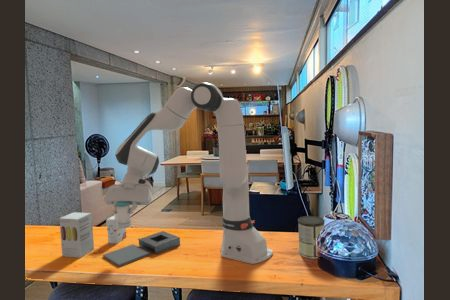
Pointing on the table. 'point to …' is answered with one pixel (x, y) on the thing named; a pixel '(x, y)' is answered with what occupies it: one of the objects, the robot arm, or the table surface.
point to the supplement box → (76, 234)
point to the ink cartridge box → (115, 230)
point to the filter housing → (159, 242)
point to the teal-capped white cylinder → (123, 214)
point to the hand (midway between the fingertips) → (122, 213)
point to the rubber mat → (126, 255)
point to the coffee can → (309, 235)
